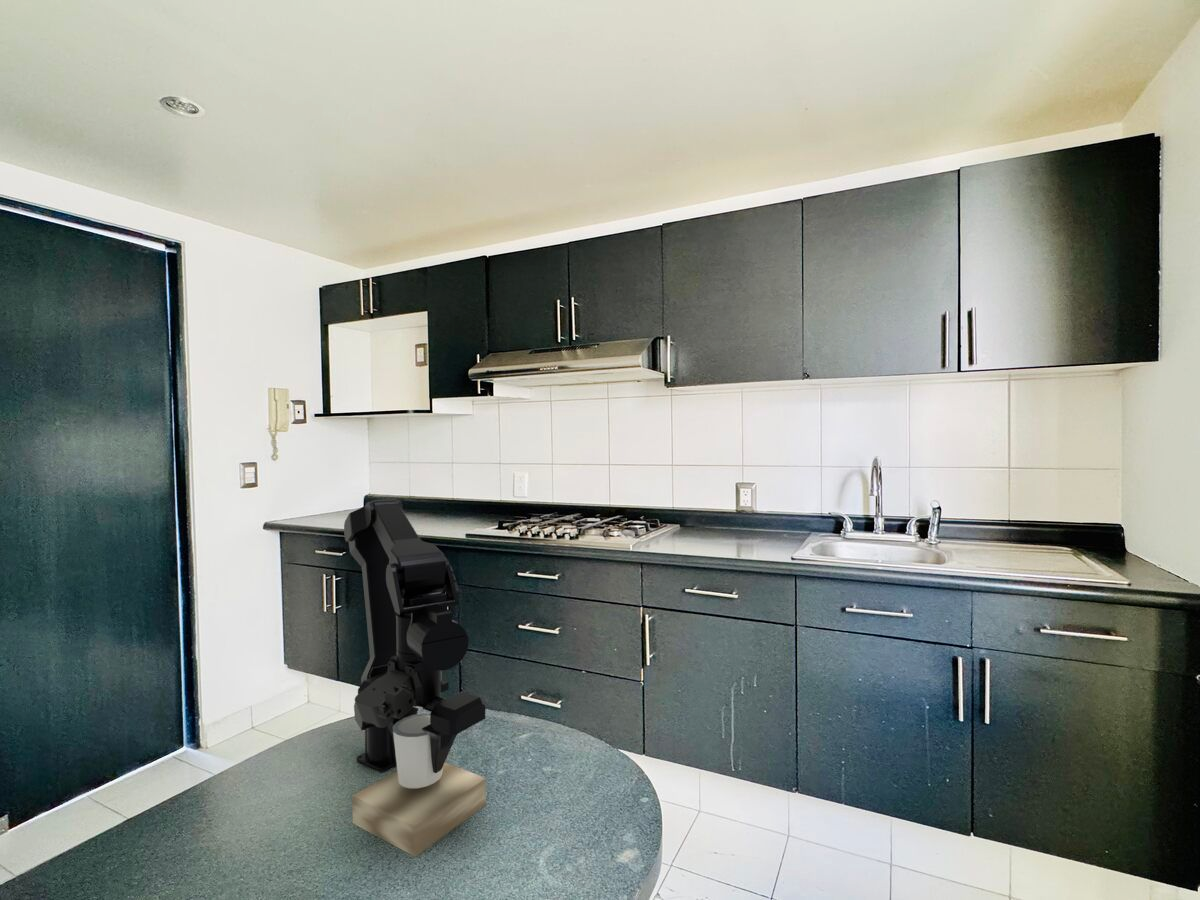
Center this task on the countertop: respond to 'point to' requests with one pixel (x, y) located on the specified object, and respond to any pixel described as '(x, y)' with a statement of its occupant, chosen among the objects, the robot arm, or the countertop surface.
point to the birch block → (418, 808)
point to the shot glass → (414, 752)
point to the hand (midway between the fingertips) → (420, 764)
